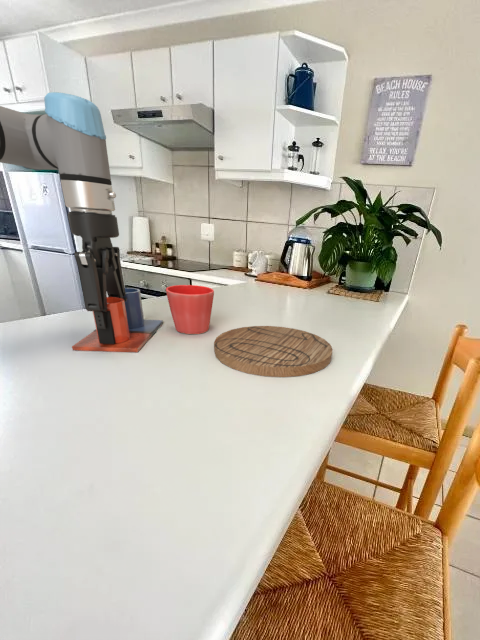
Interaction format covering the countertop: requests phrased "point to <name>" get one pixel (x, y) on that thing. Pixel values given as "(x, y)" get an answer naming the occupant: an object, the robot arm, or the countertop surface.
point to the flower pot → (190, 307)
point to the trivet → (272, 351)
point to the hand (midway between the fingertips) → (114, 337)
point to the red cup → (118, 318)
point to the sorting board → (132, 345)
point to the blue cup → (134, 308)
